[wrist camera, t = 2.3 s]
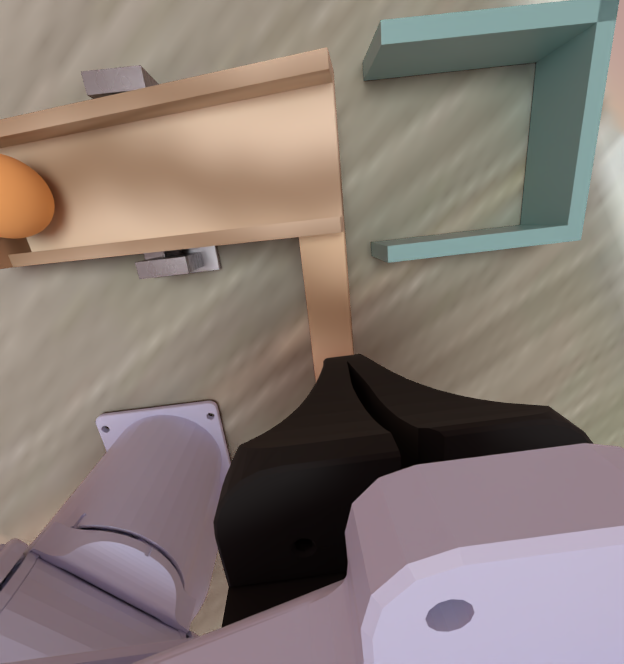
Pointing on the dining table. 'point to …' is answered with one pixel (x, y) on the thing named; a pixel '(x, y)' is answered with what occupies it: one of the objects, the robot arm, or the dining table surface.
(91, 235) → the lever
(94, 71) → the fulcrum
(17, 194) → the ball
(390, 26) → the teal u-shaped frame
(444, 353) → the dining table surface
